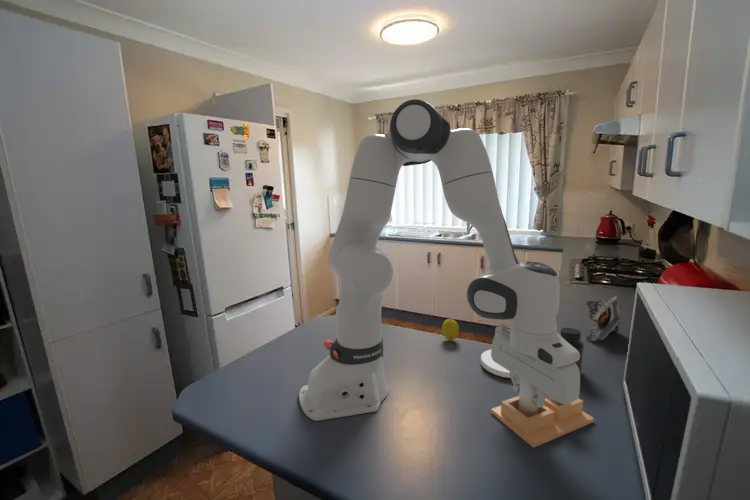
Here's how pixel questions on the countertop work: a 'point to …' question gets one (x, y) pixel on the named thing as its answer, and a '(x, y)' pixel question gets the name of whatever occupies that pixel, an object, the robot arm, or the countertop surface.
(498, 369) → the plastic lid
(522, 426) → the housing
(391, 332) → the countertop surface
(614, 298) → the ornate grey picture frame
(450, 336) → the lemon
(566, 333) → the supplement bottle
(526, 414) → the peg
